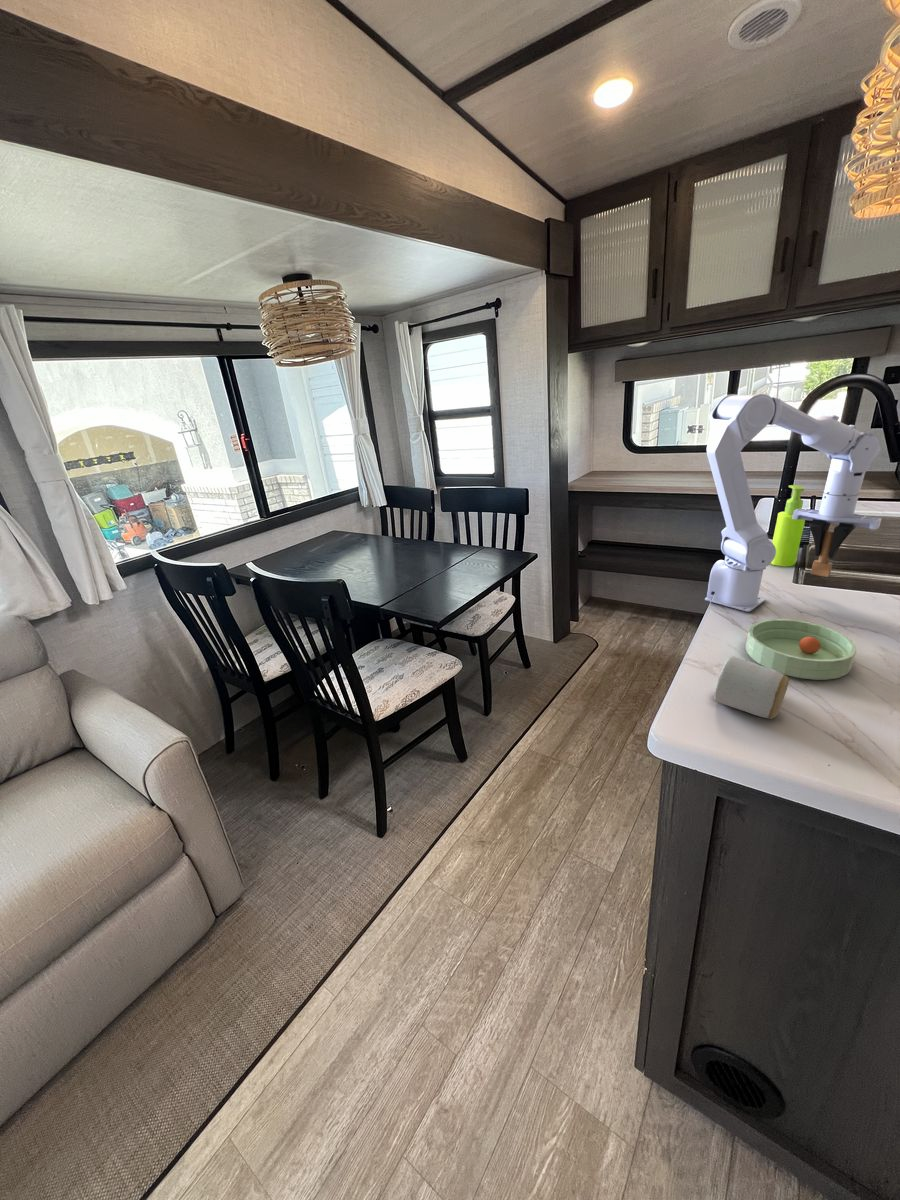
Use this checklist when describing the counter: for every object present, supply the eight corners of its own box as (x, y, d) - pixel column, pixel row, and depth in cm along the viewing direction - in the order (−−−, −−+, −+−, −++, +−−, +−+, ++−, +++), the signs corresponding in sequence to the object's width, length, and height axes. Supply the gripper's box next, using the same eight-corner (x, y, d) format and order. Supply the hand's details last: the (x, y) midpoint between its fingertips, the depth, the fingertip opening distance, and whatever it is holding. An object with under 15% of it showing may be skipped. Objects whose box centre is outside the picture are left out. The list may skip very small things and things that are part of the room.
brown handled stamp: (809, 574, 104) (820, 530, 100) (812, 571, 105) (823, 528, 101) (827, 577, 101) (838, 533, 97) (830, 575, 102) (841, 531, 98)
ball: (794, 652, 84) (798, 637, 83) (801, 646, 85) (804, 632, 84) (814, 658, 82) (818, 643, 80) (820, 652, 83) (824, 637, 82)
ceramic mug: (772, 731, 67) (784, 686, 64) (710, 709, 72) (718, 667, 69) (787, 696, 74) (798, 654, 71) (730, 679, 79) (737, 639, 76)
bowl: (730, 658, 85) (733, 638, 83) (765, 629, 93) (769, 611, 91) (831, 693, 73) (838, 672, 72) (862, 657, 81) (868, 637, 80)
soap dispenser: (790, 558, 126) (806, 483, 118) (798, 566, 120) (816, 488, 112) (764, 557, 128) (779, 483, 120) (771, 566, 122) (787, 489, 114)
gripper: (892, 493, 93) (873, 558, 98) (807, 486, 103) (793, 545, 109) (882, 500, 89) (862, 566, 94) (794, 492, 100) (781, 552, 105)
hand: (824, 555), depth 101 cm, fingers closed on brown handled stamp, 2 cm apart
